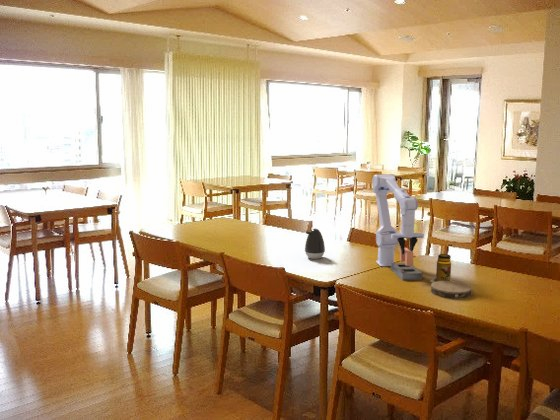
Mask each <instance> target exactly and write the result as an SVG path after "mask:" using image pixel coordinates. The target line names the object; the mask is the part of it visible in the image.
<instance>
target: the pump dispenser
mask: <svg viewBox="0 0 560 420" xmlns="http://www.w3.org/2000/svg"><path fill="white" fill-rule="evenodd" d="M305 234H307V238H306V240H305V245H304V252H305V254H306V256H307V258H309V259H311V260H318V259H319V260H320V259H321V258H322V257H323V256H324V254H325V252H326V247H325V241H324V237H323V235H322V233H321V231H320V230H319V229H318V228H312V229H311V230H310V231H308V230H305Z"/></svg>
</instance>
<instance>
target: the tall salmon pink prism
mask: <svg viewBox="0 0 560 420" xmlns="http://www.w3.org/2000/svg"><path fill="white" fill-rule="evenodd" d="M399 261H400V262H404V263H405V265H406V266H414V251H413V252H412V251H410V250H409V248H408V247H405V252H404V254H402V253H401V248H400V247H399Z"/></svg>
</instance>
